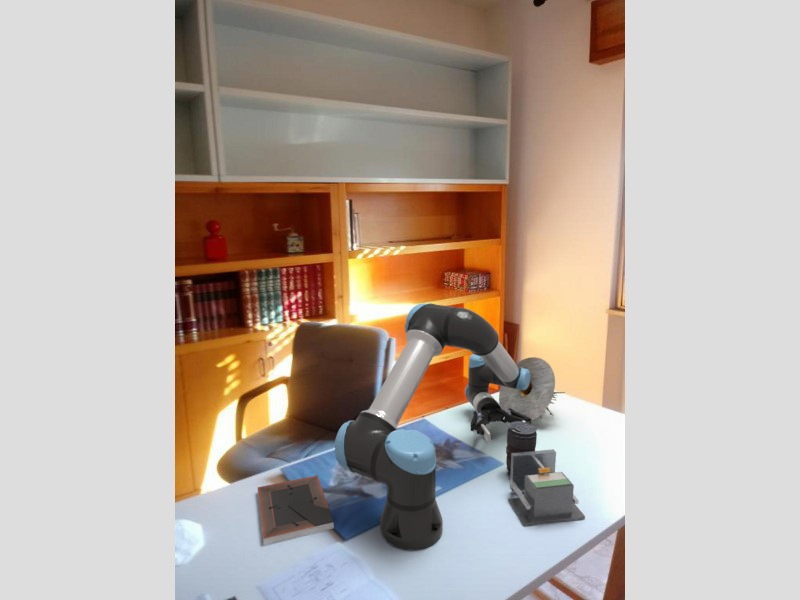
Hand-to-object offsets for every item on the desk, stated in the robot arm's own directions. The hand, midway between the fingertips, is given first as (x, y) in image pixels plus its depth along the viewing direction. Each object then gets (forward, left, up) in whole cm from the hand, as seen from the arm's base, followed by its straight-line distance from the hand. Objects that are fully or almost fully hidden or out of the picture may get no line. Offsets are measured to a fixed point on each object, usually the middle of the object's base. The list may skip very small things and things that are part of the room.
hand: (510, 436), depth 142 cm
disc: (+20, +29, -8) cm, 36 cm away
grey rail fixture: (0, -22, -7) cm, 23 cm away
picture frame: (-64, -13, -9) cm, 66 cm away
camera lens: (0, -8, -8) cm, 12 cm away
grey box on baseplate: (0, -25, -8) cm, 27 cm away
